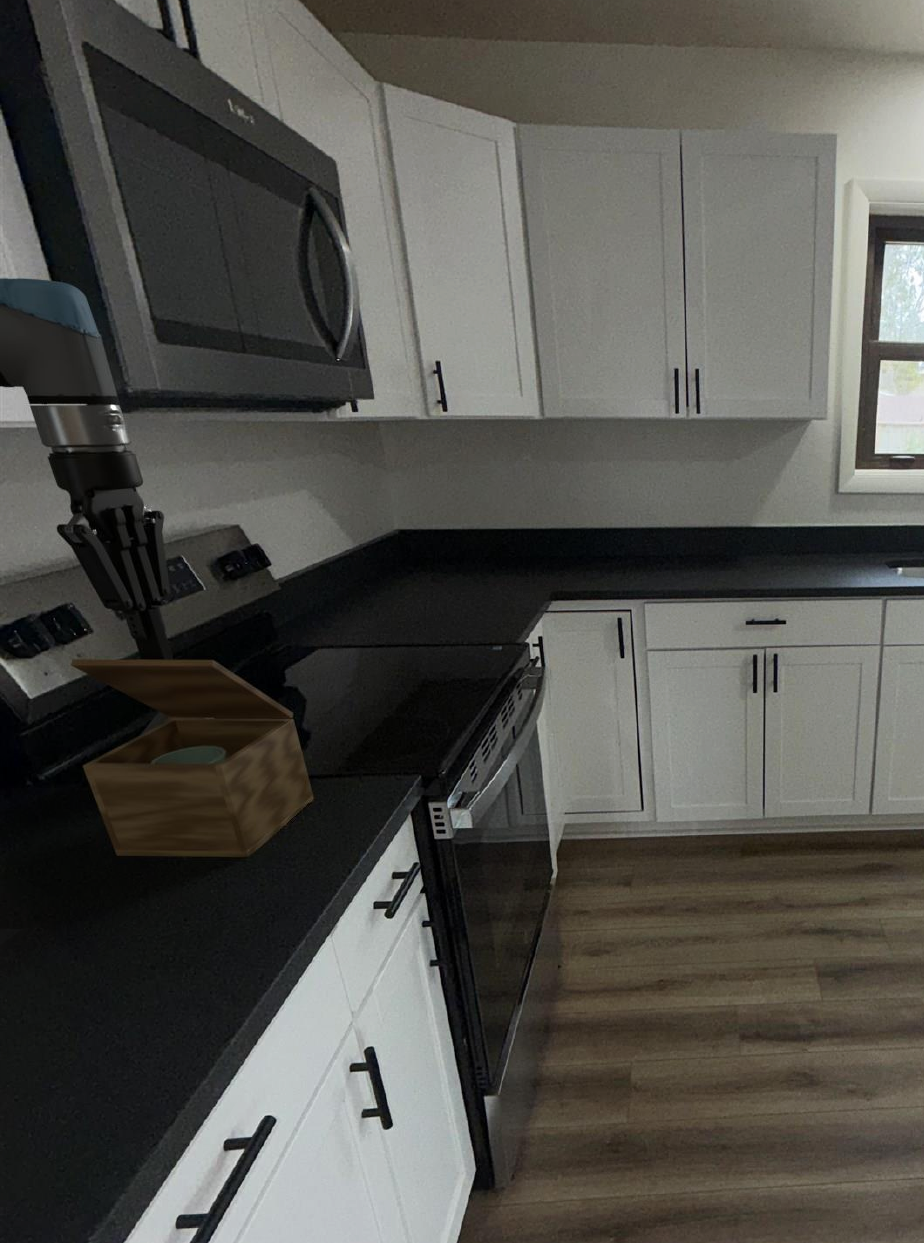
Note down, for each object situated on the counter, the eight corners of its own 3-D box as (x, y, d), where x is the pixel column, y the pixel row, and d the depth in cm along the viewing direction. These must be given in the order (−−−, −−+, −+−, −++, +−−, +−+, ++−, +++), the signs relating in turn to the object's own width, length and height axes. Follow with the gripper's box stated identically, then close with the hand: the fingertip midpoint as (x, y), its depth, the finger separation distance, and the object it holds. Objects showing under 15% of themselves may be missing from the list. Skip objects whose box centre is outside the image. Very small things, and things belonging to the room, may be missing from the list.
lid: (211, 666, 92) (213, 659, 92) (70, 665, 93) (72, 659, 93) (292, 718, 108) (293, 713, 108) (171, 717, 108) (172, 712, 108)
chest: (248, 857, 99) (221, 766, 94) (116, 856, 99) (82, 765, 94) (314, 800, 113) (293, 718, 108) (199, 799, 114) (172, 718, 109)
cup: (159, 843, 101) (133, 771, 96) (200, 814, 108) (178, 745, 104) (222, 844, 100) (199, 771, 96) (259, 814, 108) (239, 745, 104)
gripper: (76, 452, 79) (151, 680, 89) (167, 446, 91) (224, 647, 101) (2, 452, 80) (85, 680, 89) (102, 446, 91) (165, 647, 101)
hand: (158, 662), depth 95 cm, fingers closed
